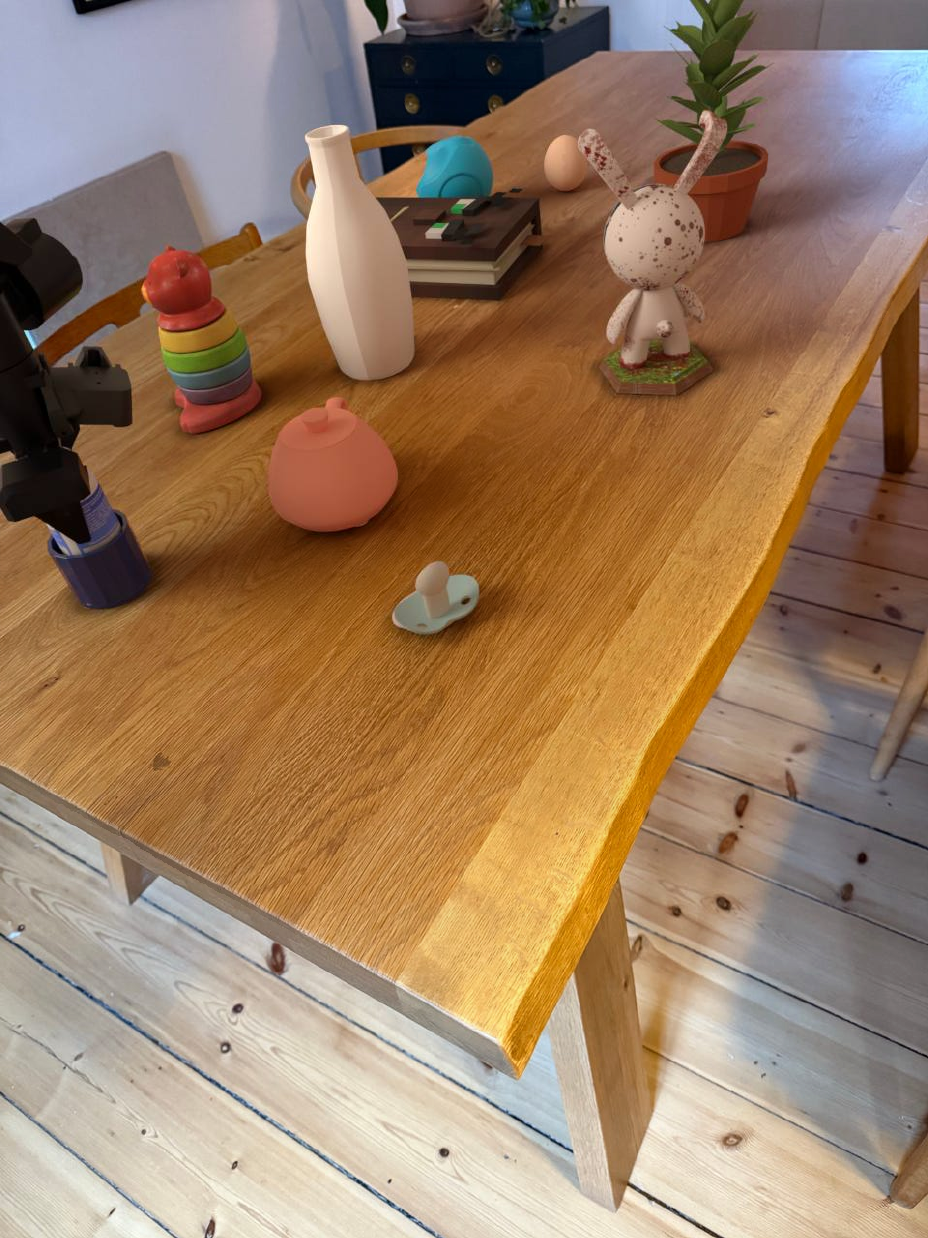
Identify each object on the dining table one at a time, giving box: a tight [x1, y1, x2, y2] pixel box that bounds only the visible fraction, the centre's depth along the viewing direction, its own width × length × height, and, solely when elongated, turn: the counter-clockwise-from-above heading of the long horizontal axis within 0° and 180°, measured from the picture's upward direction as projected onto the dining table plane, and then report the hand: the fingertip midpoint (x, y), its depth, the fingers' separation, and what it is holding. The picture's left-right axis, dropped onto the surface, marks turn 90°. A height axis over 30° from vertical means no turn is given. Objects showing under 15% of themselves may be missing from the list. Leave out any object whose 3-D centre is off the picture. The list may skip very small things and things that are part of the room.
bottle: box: [304, 124, 415, 382], centre depth 98 cm, size 11×11×25 cm
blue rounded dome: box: [415, 134, 494, 198], centre depth 134 cm, size 12×11×12 cm
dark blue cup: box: [46, 508, 153, 610], centre depth 80 cm, size 7×7×6 cm
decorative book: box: [375, 187, 550, 301], centre depth 122 cm, size 19×8×30 cm
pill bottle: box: [45, 447, 122, 556], centre depth 76 cm, size 5×5×10 cm
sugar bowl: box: [267, 396, 399, 533], centre depth 83 cm, size 12×14×10 cm
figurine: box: [577, 110, 727, 397], centre depth 88 cm, size 14×12×25 cm
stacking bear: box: [140, 245, 262, 435], centre depth 99 cm, size 11×10×18 cm
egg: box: [543, 134, 588, 192], centre depth 138 cm, size 7×7×8 cm
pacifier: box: [391, 560, 480, 635], centre depth 71 cm, size 7×6×6 cm
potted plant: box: [653, 0, 774, 243], centre depth 112 cm, size 15×15×30 cm
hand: (82, 524), depth 78 cm, fingers closed on pill bottle, 5 cm apart
